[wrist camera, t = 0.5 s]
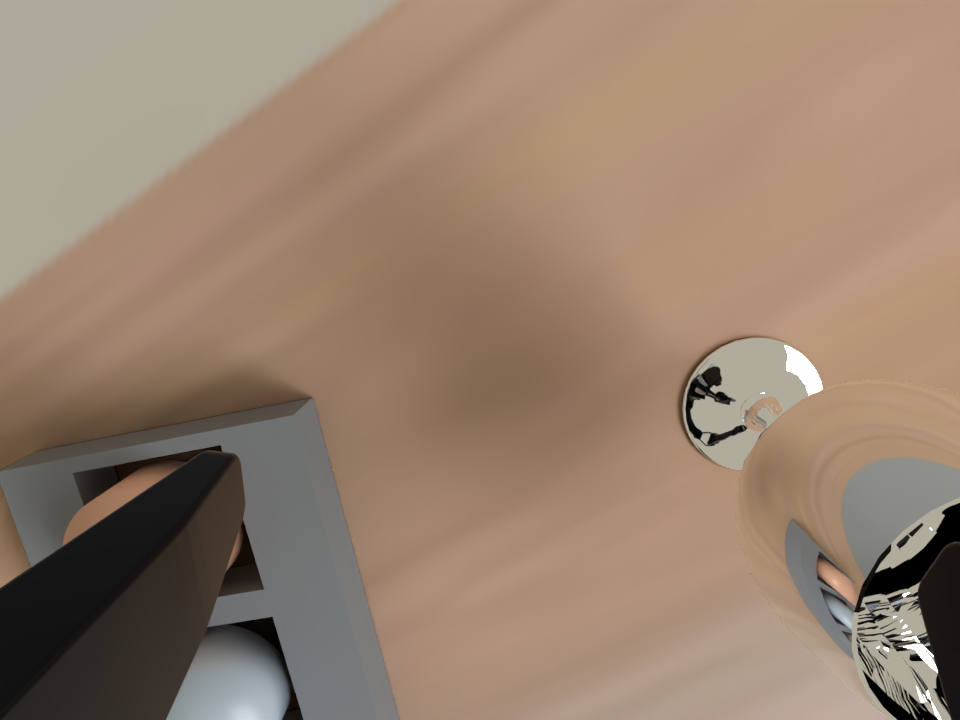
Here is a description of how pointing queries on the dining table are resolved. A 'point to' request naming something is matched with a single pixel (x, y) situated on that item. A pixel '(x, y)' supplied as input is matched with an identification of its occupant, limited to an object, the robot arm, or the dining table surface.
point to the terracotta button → (124, 494)
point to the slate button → (234, 679)
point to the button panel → (272, 534)
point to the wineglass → (837, 507)
